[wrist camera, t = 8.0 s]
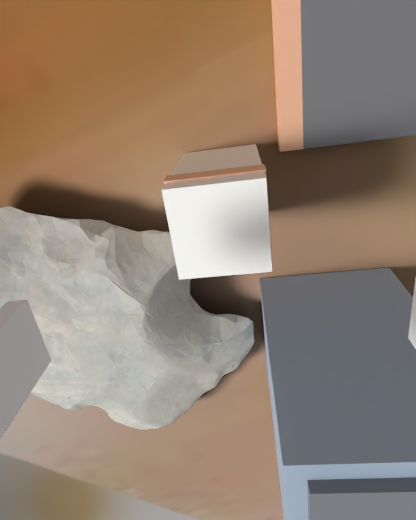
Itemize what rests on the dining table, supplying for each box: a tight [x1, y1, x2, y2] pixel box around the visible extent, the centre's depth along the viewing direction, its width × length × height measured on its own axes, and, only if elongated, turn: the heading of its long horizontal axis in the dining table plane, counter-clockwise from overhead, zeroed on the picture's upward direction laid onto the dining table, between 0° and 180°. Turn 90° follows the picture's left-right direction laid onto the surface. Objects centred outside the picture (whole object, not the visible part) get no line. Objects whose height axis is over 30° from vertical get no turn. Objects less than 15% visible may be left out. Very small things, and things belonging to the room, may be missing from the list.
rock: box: [0, 205, 254, 430], centre depth 29 cm, size 19×7×25 cm
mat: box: [271, 0, 416, 152], centre depth 22 cm, size 12×12×1 cm
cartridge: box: [162, 144, 272, 280], centre depth 23 cm, size 5×5×9 cm
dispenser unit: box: [260, 268, 416, 520], centre depth 24 cm, size 10×10×17 cm
